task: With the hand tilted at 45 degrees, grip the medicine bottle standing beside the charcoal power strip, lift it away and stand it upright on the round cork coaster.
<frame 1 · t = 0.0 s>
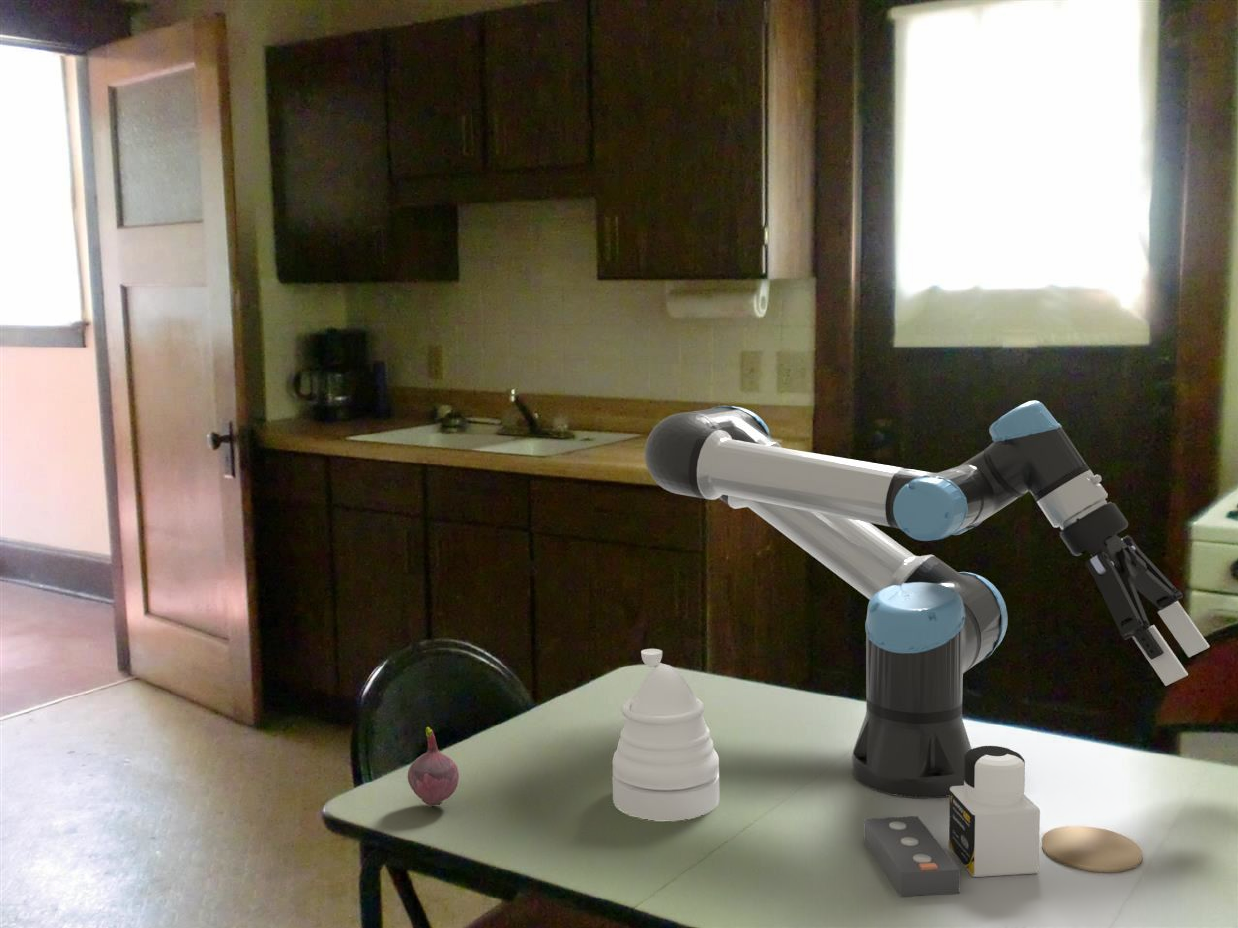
hand: (1188, 665, 143), 15 cm above the table, tool tilted 35°, fingers open, 13 cm apart
power strip: (909, 865, 126), on the table
medicine bottle: (992, 862, 127), on the table
vegetable: (435, 808, 144), on the table
coaster: (1091, 850, 129), on the table
honey pot: (666, 800, 145), on the table
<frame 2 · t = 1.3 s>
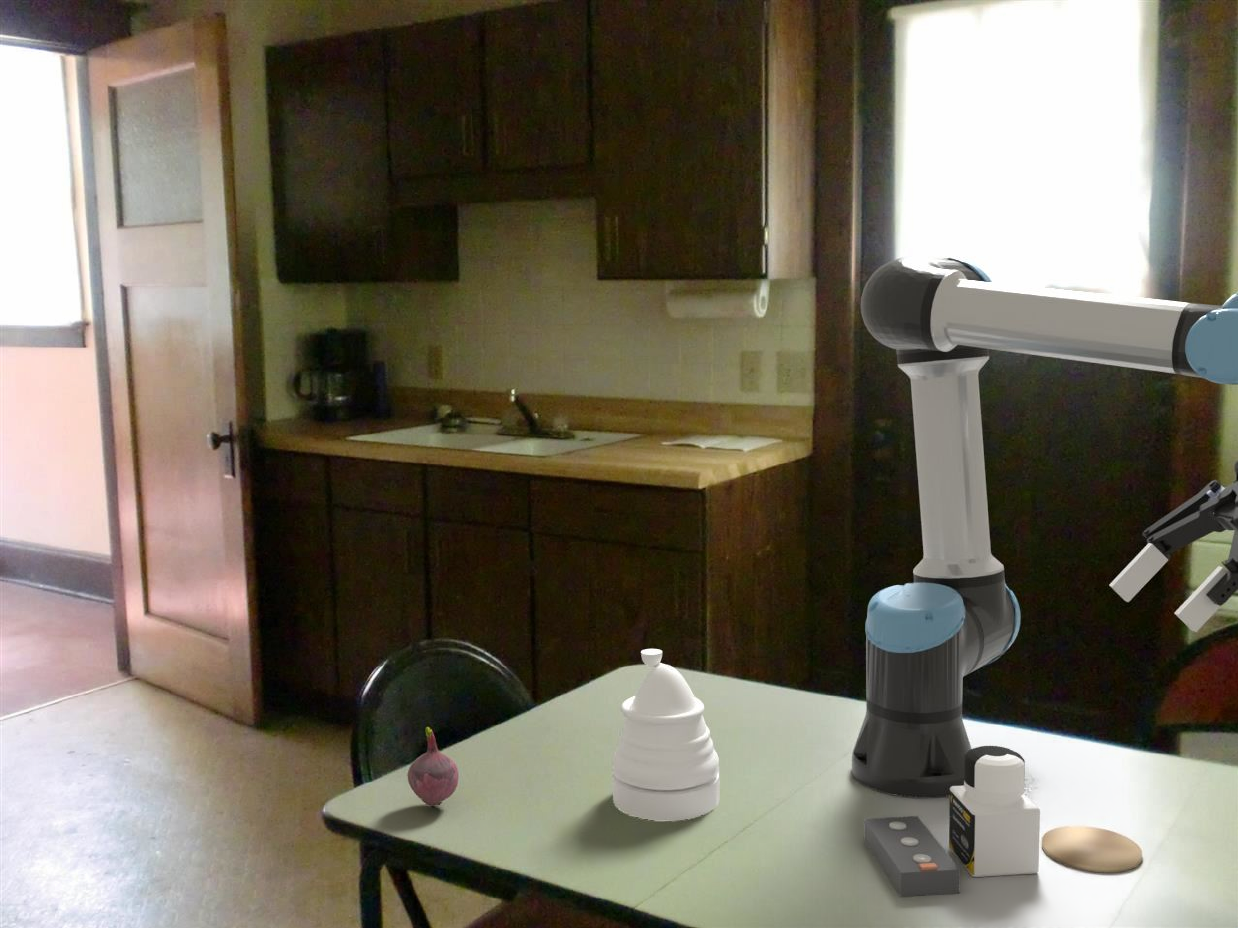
hand: (1149, 607, 128), 26 cm above the table, tool tilted 45°, fingers open, 13 cm apart
nothing on the table moved.
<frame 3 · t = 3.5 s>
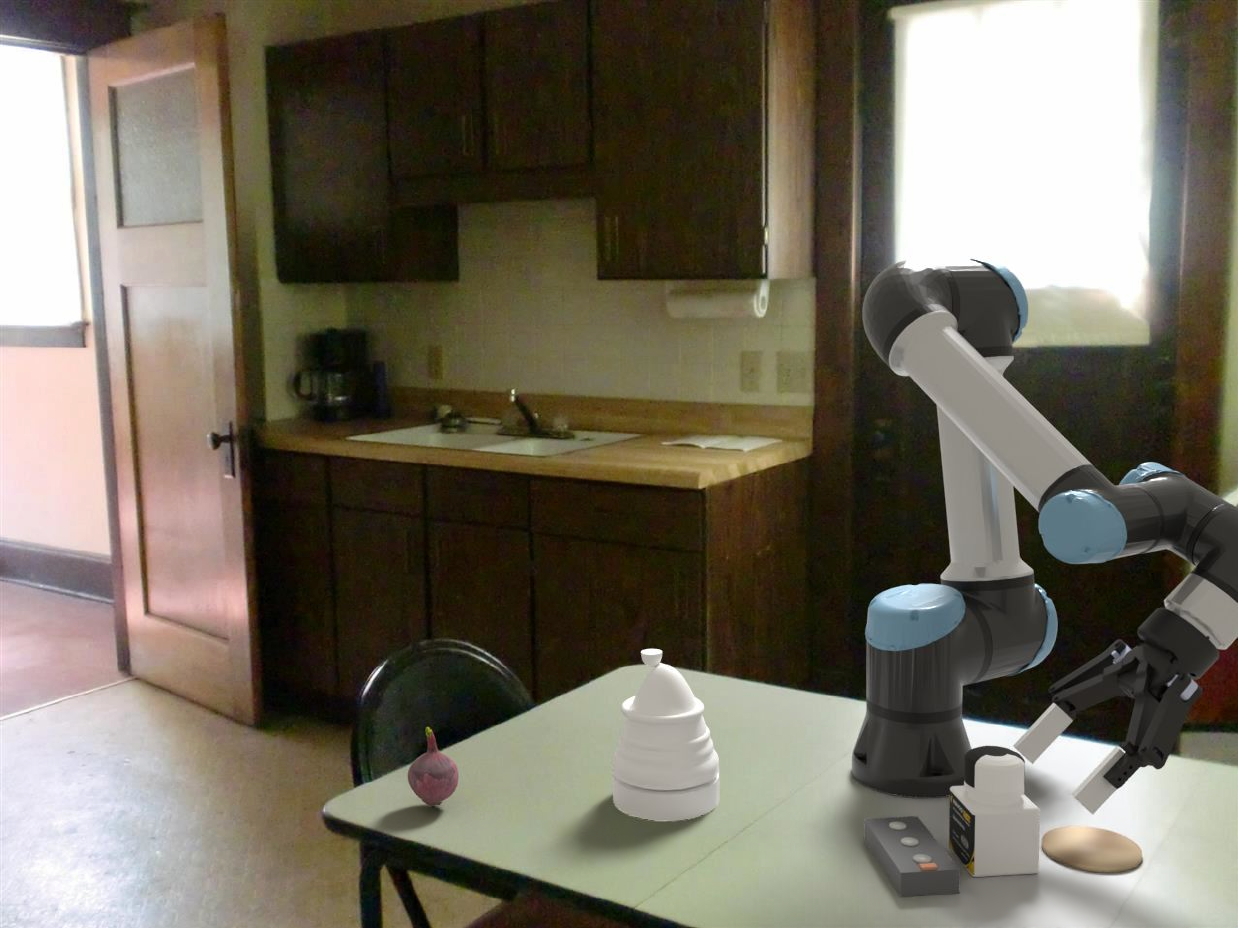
hand: (1050, 778, 125), 9 cm above the table, tool tilted 45°, fingers open, 13 cm apart
nothing on the table moved.
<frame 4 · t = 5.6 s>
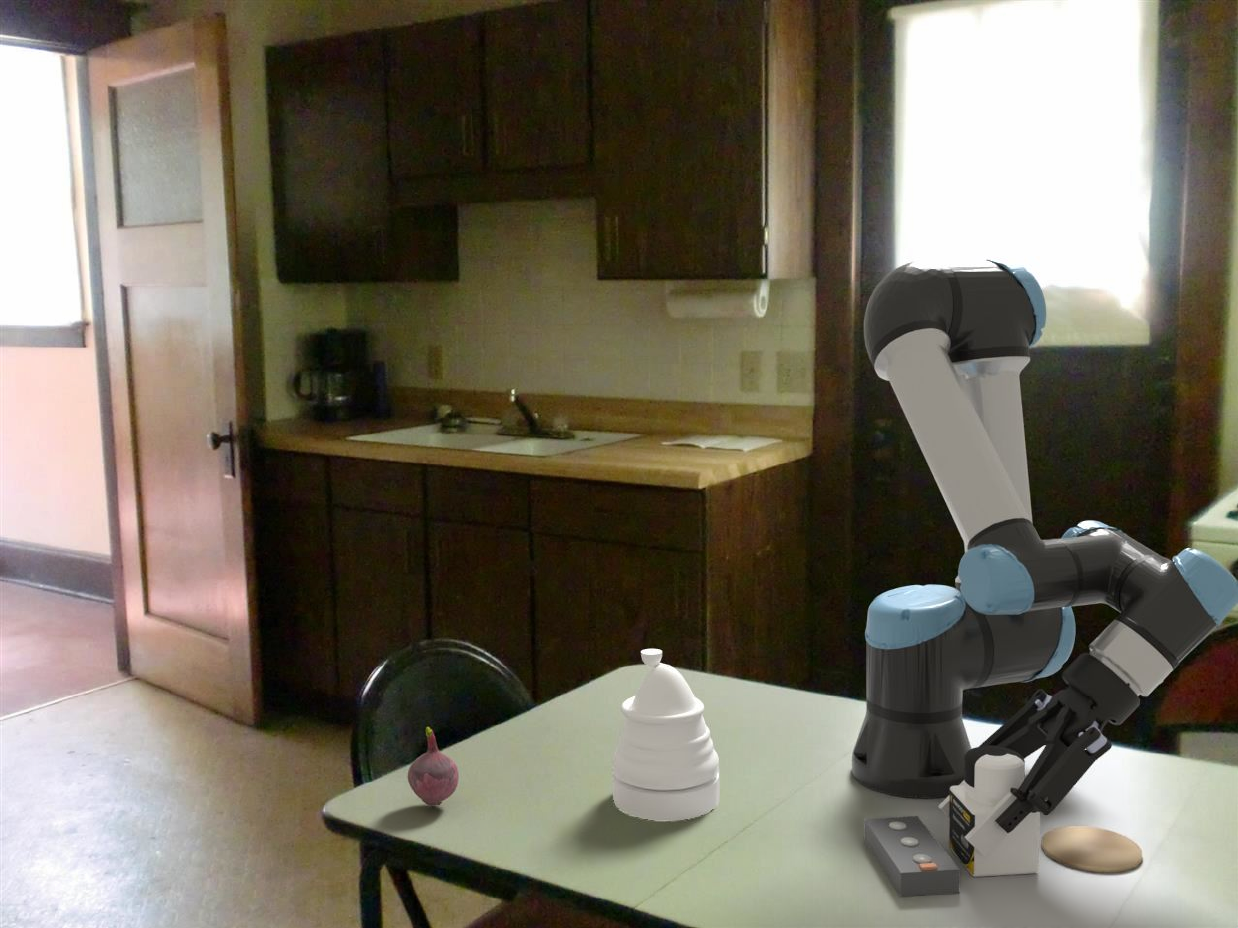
hand: (961, 830, 126), 4 cm above the table, tool tilted 45°, fingers closed on medicine bottle, 7 cm apart
medicine bottle: (992, 862, 127), on the table, touching gripper
everything else where it was.
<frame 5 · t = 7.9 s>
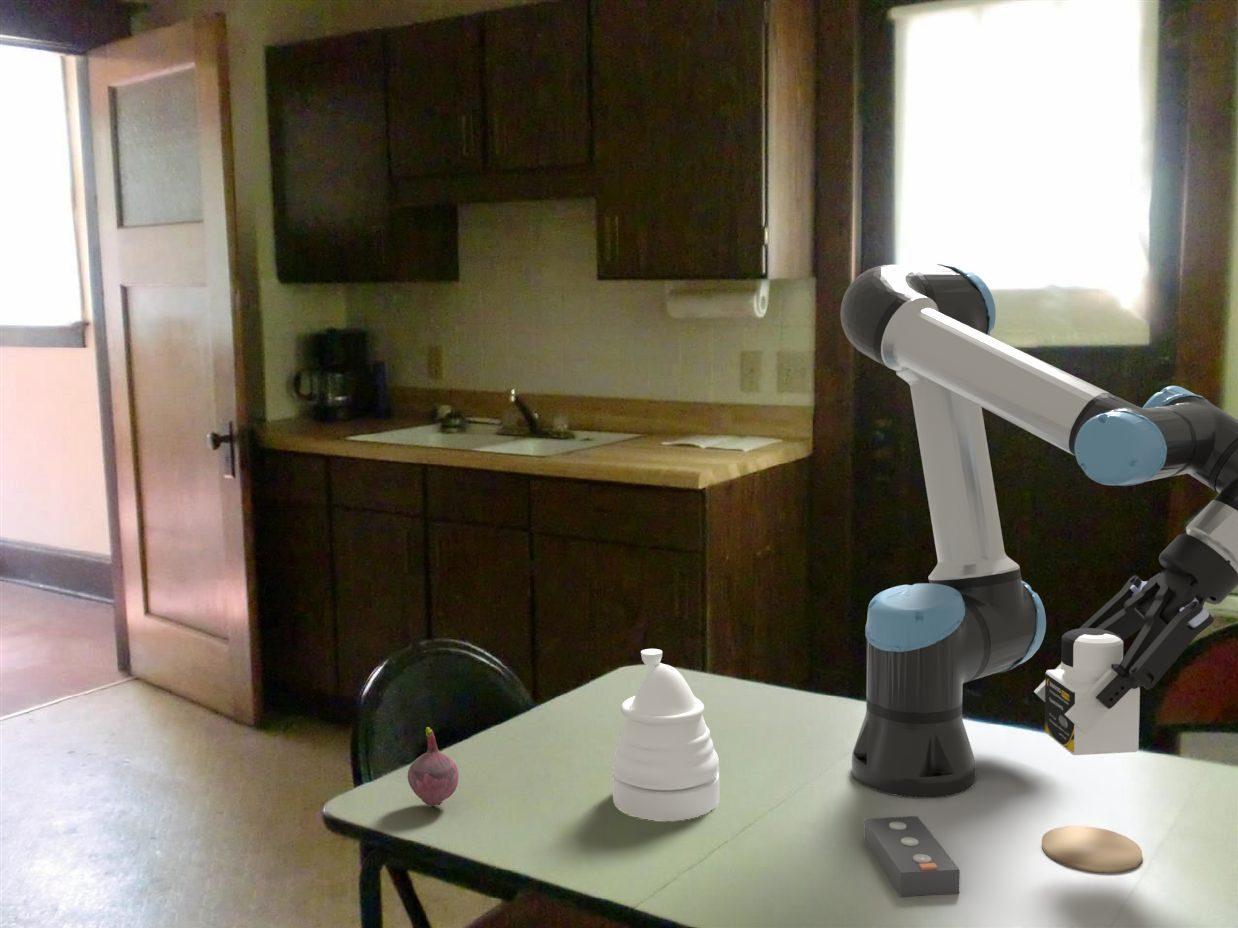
hand: (1059, 711, 127), 16 cm above the table, tool tilted 45°, fingers closed on medicine bottle, 7 cm apart
medicine bottle: (1090, 744, 127), point 12 cm above the table, touching gripper
everything else where it was.
when the fingers open (6 cm above the table, at t = 10.1 s): medicine bottle drops 1 cm, resting on coaster.
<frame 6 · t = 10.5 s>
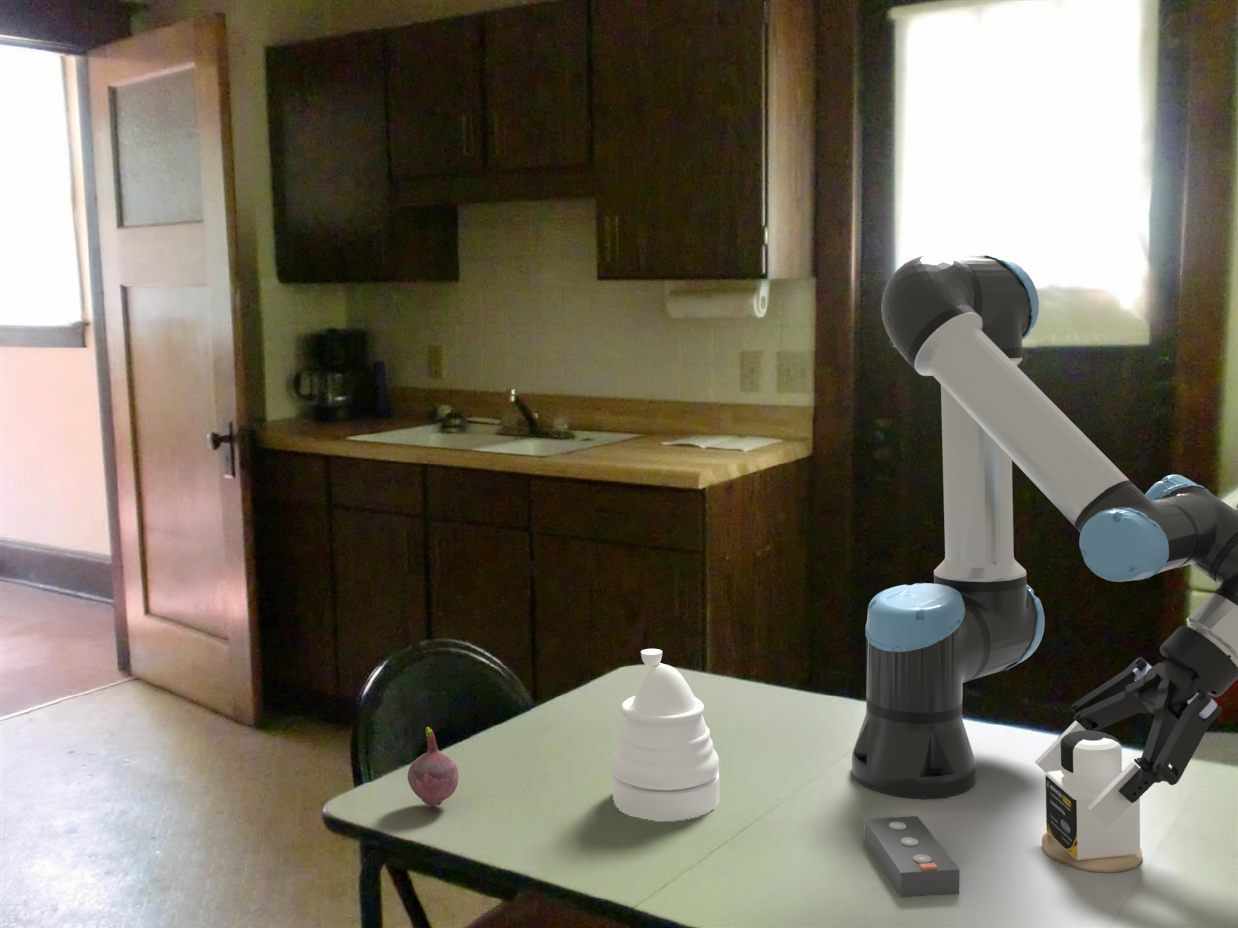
hand: (1069, 793, 128), 7 cm above the table, tool tilted 45°, fingers open, 12 cm apart
medicine bottle: (1092, 845, 129), point 1 cm above the table, touching coaster
everything else where it was.
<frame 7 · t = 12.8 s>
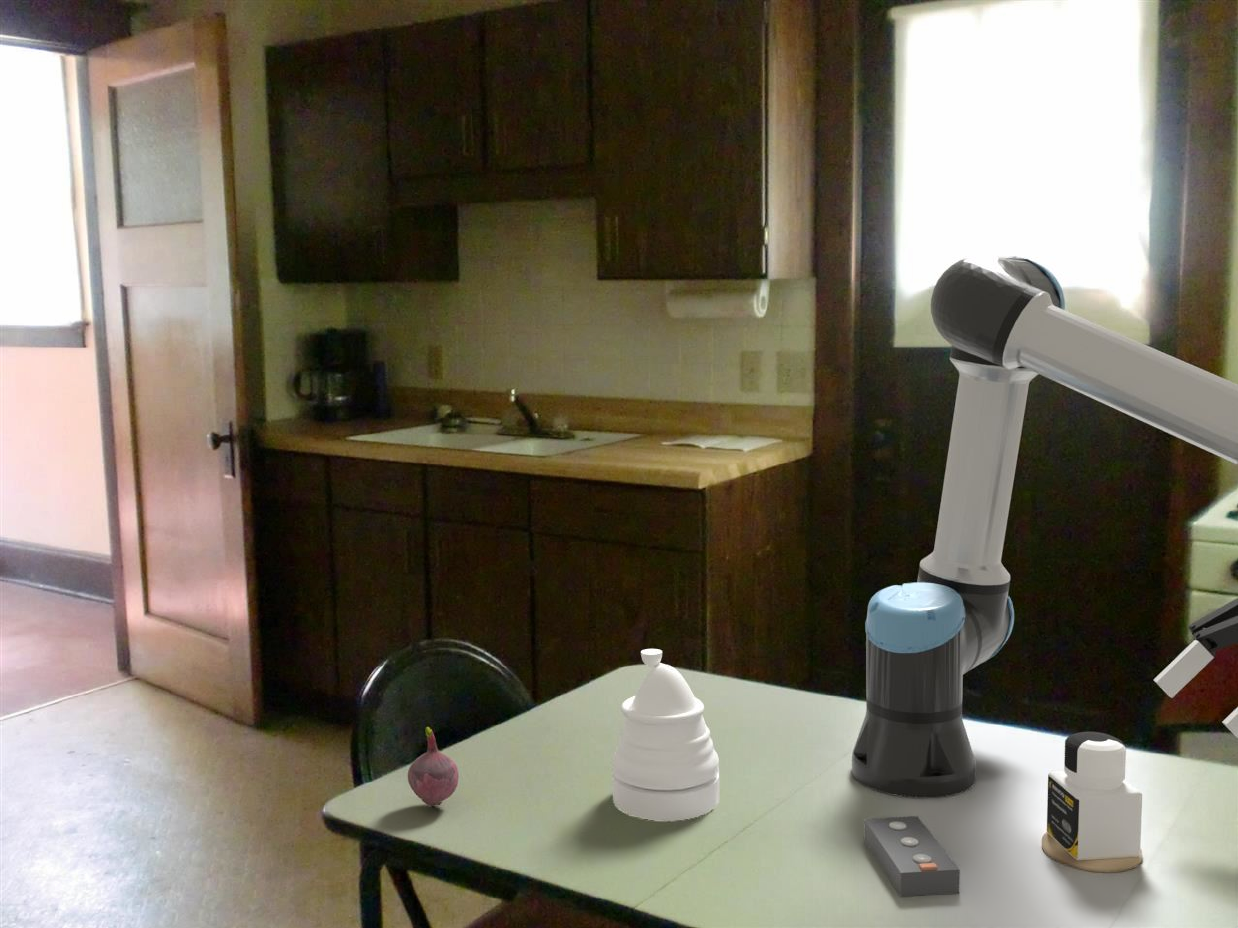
hand: (1195, 709, 129), 15 cm above the table, tool tilted 45°, fingers open, 13 cm apart
nothing on the table moved.
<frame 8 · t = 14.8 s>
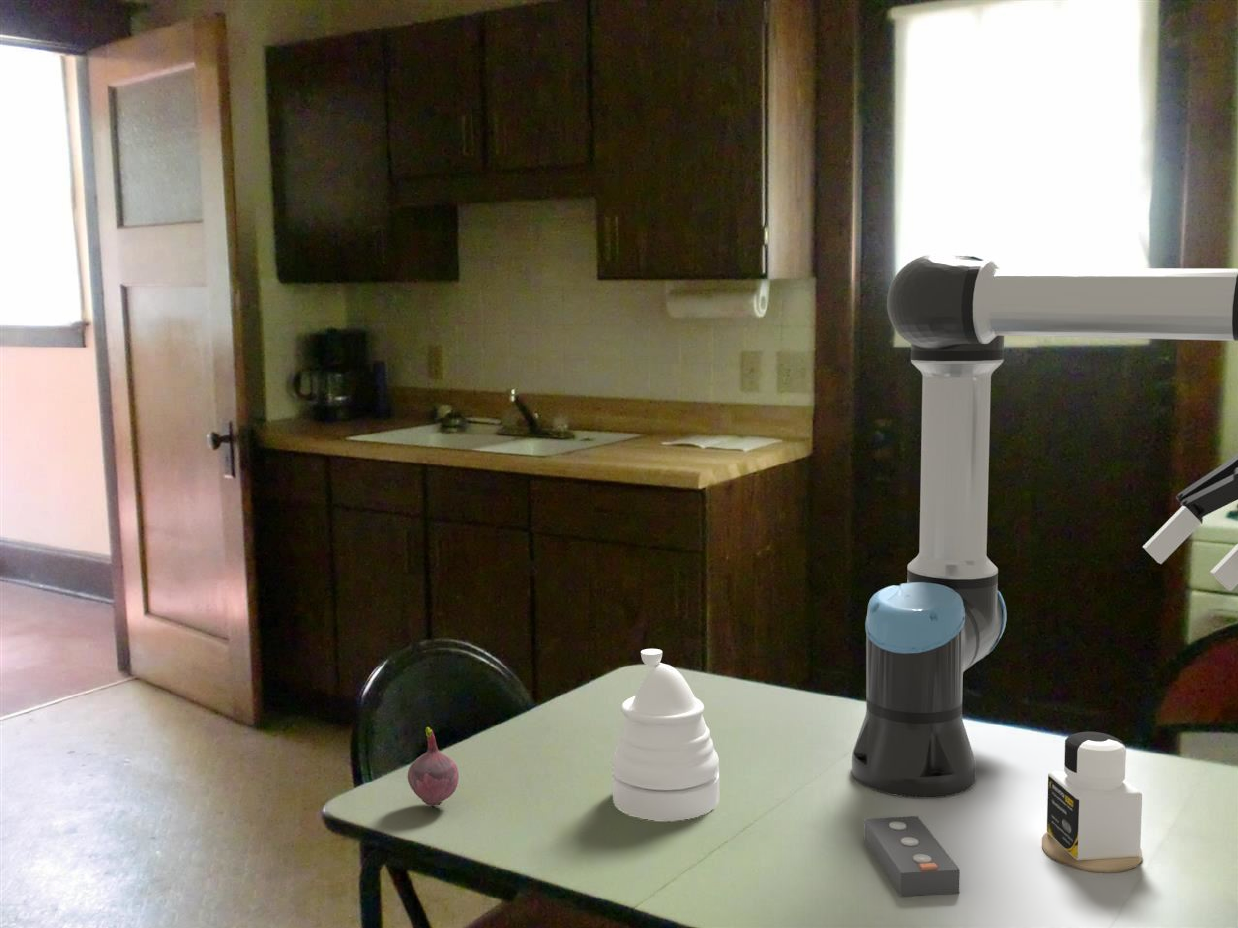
hand: (1183, 568, 130), 30 cm above the table, tool tilted 45°, fingers open, 13 cm apart
nothing on the table moved.
at the end: medicine bottle 0.1 cm from the coaster (horizontally); medicine bottle tilted 0°; the gripper is holding nothing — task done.
